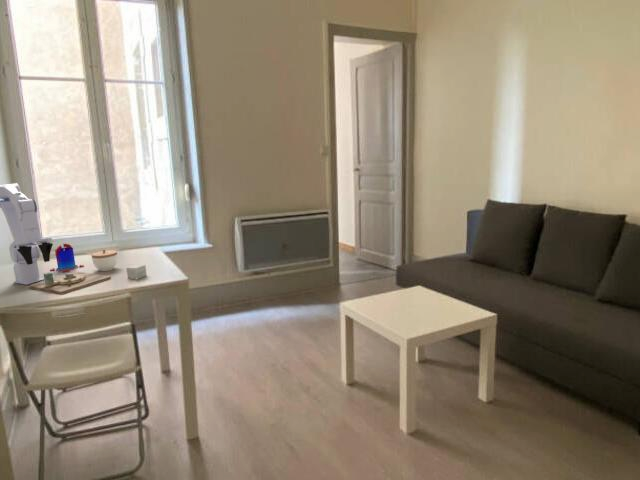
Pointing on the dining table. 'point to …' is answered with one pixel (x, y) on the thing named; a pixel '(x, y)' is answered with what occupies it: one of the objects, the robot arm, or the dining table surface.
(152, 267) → the dining table surface
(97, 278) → the post board
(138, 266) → the small box
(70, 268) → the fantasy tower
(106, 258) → the lidded jar
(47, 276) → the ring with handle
